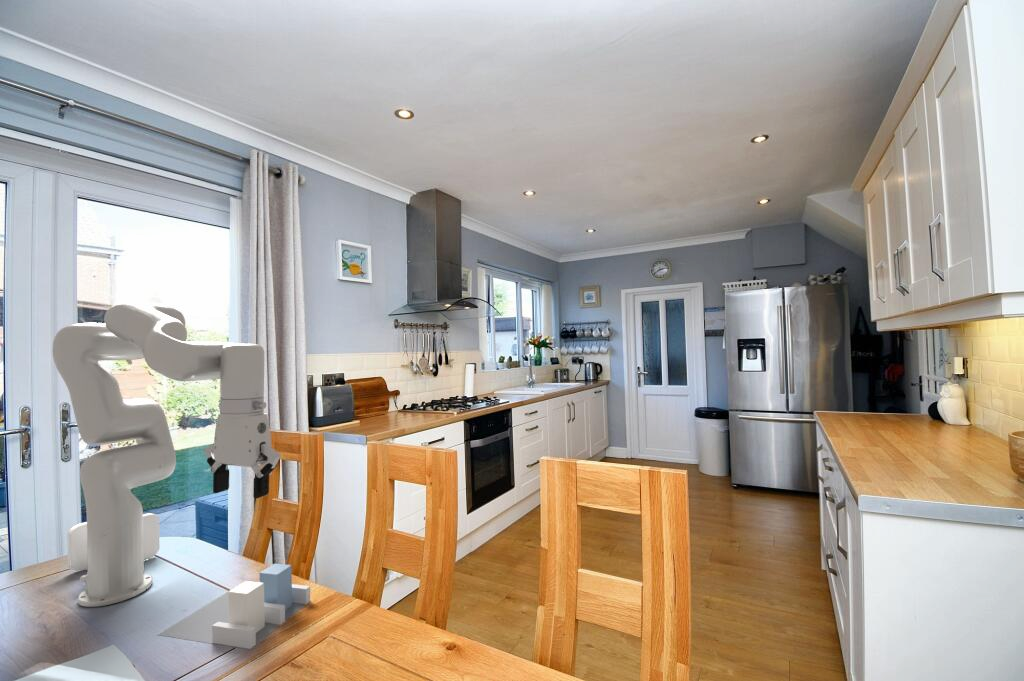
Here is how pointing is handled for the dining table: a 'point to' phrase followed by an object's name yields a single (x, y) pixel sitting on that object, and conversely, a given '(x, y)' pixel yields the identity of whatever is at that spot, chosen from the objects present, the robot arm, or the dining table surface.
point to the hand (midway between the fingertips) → (240, 493)
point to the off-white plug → (247, 605)
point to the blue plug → (277, 584)
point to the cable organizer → (79, 542)
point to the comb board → (216, 628)
